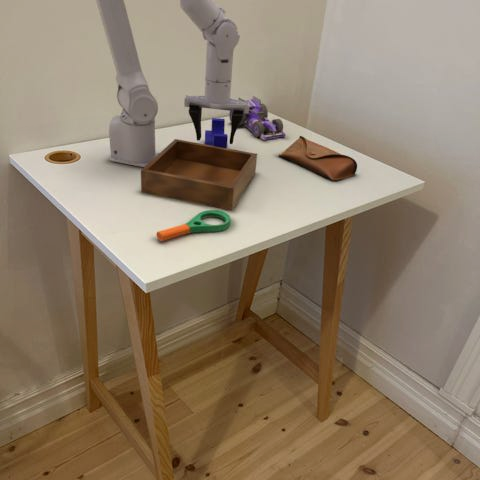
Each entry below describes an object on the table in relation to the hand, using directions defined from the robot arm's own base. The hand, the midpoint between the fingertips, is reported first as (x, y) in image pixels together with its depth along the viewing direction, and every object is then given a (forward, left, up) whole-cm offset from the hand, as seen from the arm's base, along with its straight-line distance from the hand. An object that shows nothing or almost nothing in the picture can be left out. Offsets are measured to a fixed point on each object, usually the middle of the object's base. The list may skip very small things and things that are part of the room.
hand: (215, 140), depth 121 cm
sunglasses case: (+24, +3, -3) cm, 24 cm away
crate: (+3, -17, -3) cm, 18 cm away
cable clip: (0, 0, -3) cm, 3 cm away
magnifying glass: (+8, -37, -3) cm, 38 cm away
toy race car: (+6, +20, -3) cm, 21 cm away
